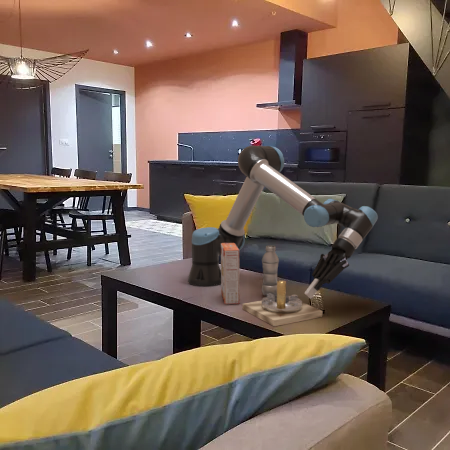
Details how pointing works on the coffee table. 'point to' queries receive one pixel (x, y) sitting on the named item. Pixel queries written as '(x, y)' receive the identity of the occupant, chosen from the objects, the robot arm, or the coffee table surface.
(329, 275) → the robot arm
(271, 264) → the plastic bottle
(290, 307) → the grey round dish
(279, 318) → the nut board
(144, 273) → the coffee table surface
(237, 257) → the cracker box
